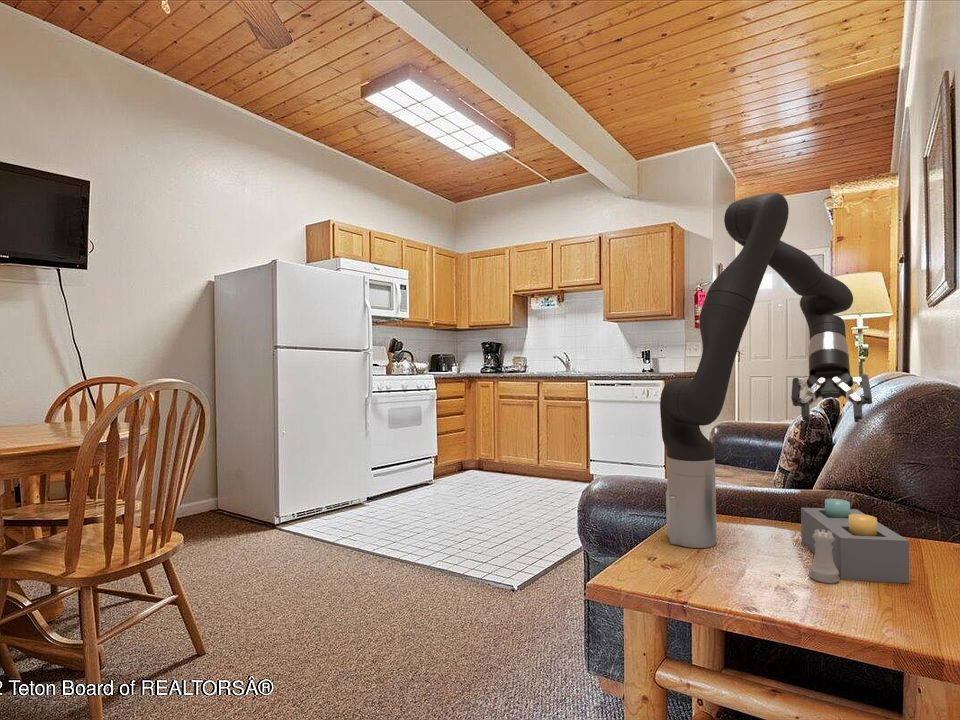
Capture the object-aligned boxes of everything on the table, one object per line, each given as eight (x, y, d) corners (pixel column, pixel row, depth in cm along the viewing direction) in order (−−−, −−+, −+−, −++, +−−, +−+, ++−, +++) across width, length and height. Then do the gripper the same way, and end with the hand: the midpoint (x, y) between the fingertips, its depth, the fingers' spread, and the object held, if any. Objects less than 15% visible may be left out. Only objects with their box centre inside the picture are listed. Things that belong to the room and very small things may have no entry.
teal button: (830, 522, 102) (830, 503, 102) (821, 516, 106) (821, 498, 106) (854, 523, 101) (853, 504, 101) (844, 516, 105) (844, 498, 105)
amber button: (855, 540, 92) (855, 520, 92) (844, 532, 96) (844, 513, 96) (882, 541, 91) (881, 521, 91) (870, 533, 95) (869, 514, 95)
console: (841, 579, 91) (840, 538, 91) (801, 542, 108) (800, 507, 108) (909, 583, 89) (908, 540, 89) (857, 544, 106) (856, 509, 106)
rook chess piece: (846, 584, 89) (845, 535, 89) (819, 584, 89) (818, 536, 89) (828, 573, 94) (827, 527, 94) (802, 573, 94) (802, 527, 93)
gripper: (789, 350, 122) (789, 412, 114) (866, 344, 114) (872, 410, 106) (794, 369, 127) (794, 430, 119) (868, 364, 119) (875, 429, 110)
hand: (831, 420), depth 112 cm, fingers open, 8 cm apart
